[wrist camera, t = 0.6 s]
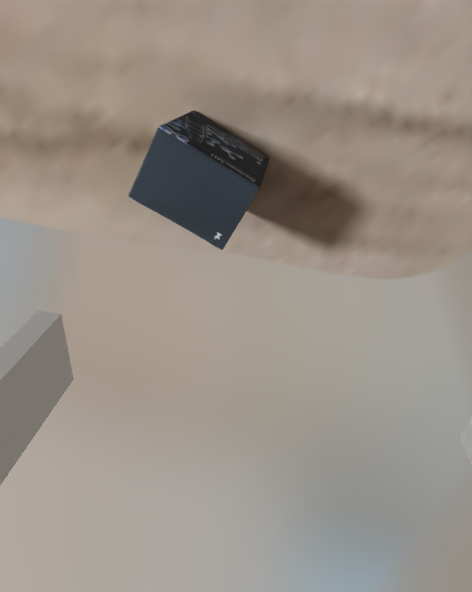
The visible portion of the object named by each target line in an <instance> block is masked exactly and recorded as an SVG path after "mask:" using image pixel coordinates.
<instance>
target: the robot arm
mask: <svg viewBox="0 0 472 592" xmlns="http://www.w3.org/2000/svg"><path fill="white" fill-rule="evenodd" d="M72 380H73V374H72V369H71V363H70V358H69V353H68V348H67V342H66V337H65V332H64V327H63V322H62V316H61V314H58V313H51V312H43V311H37V312H36V313H35V314H34V315H33V316H32V317H31V318H30V319H29V320H28V321H27V322H26V323H25V324H24V325H23V326H22V327H21V328H20V329H19V330H18V331H17V332H16V333H15V334H14V335H13V336H12V337H11V338H10V339H9V340H8V341H7V342H6V343H5V344H4V345H3V346H1V347H0V485H1V484H2V482H3V481H4V479H5V478H6V476H7V475H8V473H9V472H10V470H11V469H12V467H13V466H14V465H15V463H16V462H17V460H18V459H19V457H20V456H21V454H22V453H23V452H24V450H25V449H26V447H27V446H28V444H29V443H30V441H31V440H32V439H33V437H34V436H35V434H36V433H37V431H38V430H39V428H40V427H41V425H42V424H43V422H44V421H45V419H46V418H47V417H48V415H49V414H50V412H51V411H52V409H53V408H54V407H55V405H56V404H57V402H58V401H59V399H60V398H61V396H62V395H63V393H64V392H65V391H66V389H67V388H68V386H69V385H70V383H71V382H72ZM460 439H461V441H462V444H463V446H464V448H465V451H466V453H467V455H468V457H469V460H470V462H471V464H472V416H471V418H470V419H469V421H468V423H467V425H466V427H465V428H464V430H463V432H462V434H461V436H460Z"/></svg>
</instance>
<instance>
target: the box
mask: <svg viewBox="0 0 472 592" xmlns="http://www.w3.org/2000/svg"><path fill="white" fill-rule="evenodd" d="M268 160H269V157H268V156H266V155H264V154H263V153H261V152H259V151H258V150H256V149H255V148H253V147H251V146H250V145H248V144H247V143H245V142H243V141H242V140H240V139H238V138H237V137H235V136H234V135H232V134H231V133H229V132H227V131H226V130H225V129H222V128H221V127H219V126H218V125H216V124H215V123H213V122H211V121H210V120H209V119H207V118H205V117H204V116H202V115H201V114H199V113H198V112H196V111H192V112H189V113H187V114H185V115H183V116H181V117H179V118H176V119H174V120H172V121H170V122H168V123H166V124H163V125H160V126H159V127H158V129H157V131H156V133H155V136H154V138H153V140H152V143H151V145H150V148H149V150H148V152H147V154H146V157H145V159H144V161H143V164H142V166H141V168H140V170H139V173H138V175H137V177H136V180H135V182H134V184H133V186H132V189H131V191H130V193H129V198H130V199H131V200H134V201H136V202H138V203H140V204H142V205H144V206H146V207H147V208H149V209H151V210H153V211H155V212H157V213H158V214H160V215H162V216H164V217H166V218H168V219H169V220H171V221H173V222H174V223H176V224H178V225H180V226H181V227H183V228H185V229H187V230H188V231H190V232H192V233H194V234H195V235H197V236H199V237H200V238H202V239H204V240H205V241H207V242H209V243H210V244H212V245H214V246H215V247H217V248H219V249H221V250H223V248H224V247H225V245H226V243H227V242H228V240H229V238H230V237H231V235H232V233H233V232H234V230H235V228H236V227H237V225H238V223H239V222H240V220H241V219H242V217H243V215H244V214H245V212H246V211H247V209H248V207H249V205H250V204H251V202H252V200H253V199H254V197H255V196H256V194H257V192H258V191H259V189H260V186H261V183H262V180H263V176H264V173H265V170H266V167H267V164H268Z"/></svg>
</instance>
